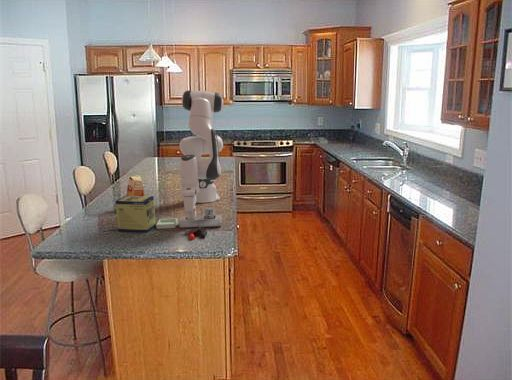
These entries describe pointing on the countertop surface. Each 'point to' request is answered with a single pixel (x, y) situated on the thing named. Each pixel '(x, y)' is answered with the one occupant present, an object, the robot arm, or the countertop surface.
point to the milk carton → (135, 186)
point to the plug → (193, 214)
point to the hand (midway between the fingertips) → (191, 215)
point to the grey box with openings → (202, 220)
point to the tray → (167, 223)
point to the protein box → (135, 213)
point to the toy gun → (196, 233)
